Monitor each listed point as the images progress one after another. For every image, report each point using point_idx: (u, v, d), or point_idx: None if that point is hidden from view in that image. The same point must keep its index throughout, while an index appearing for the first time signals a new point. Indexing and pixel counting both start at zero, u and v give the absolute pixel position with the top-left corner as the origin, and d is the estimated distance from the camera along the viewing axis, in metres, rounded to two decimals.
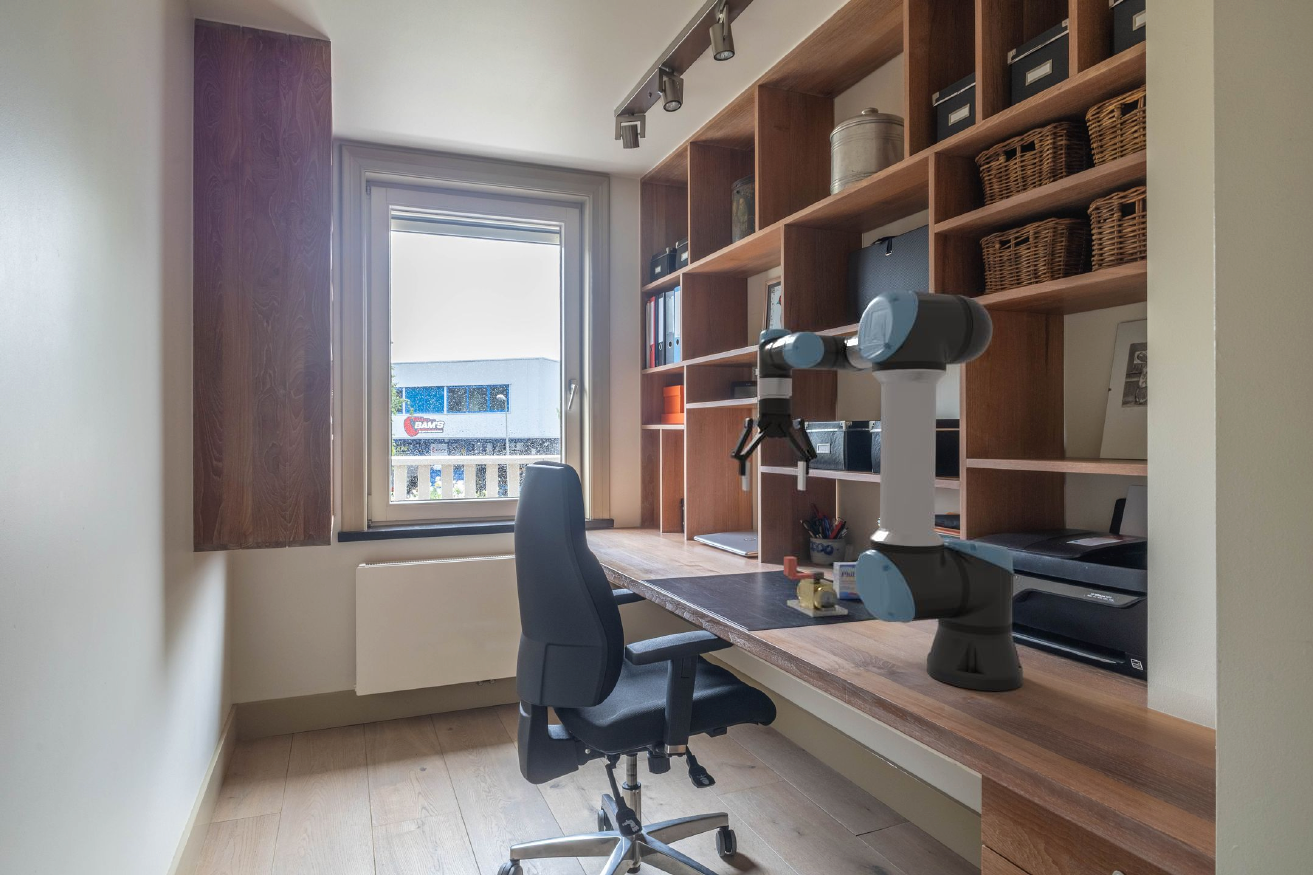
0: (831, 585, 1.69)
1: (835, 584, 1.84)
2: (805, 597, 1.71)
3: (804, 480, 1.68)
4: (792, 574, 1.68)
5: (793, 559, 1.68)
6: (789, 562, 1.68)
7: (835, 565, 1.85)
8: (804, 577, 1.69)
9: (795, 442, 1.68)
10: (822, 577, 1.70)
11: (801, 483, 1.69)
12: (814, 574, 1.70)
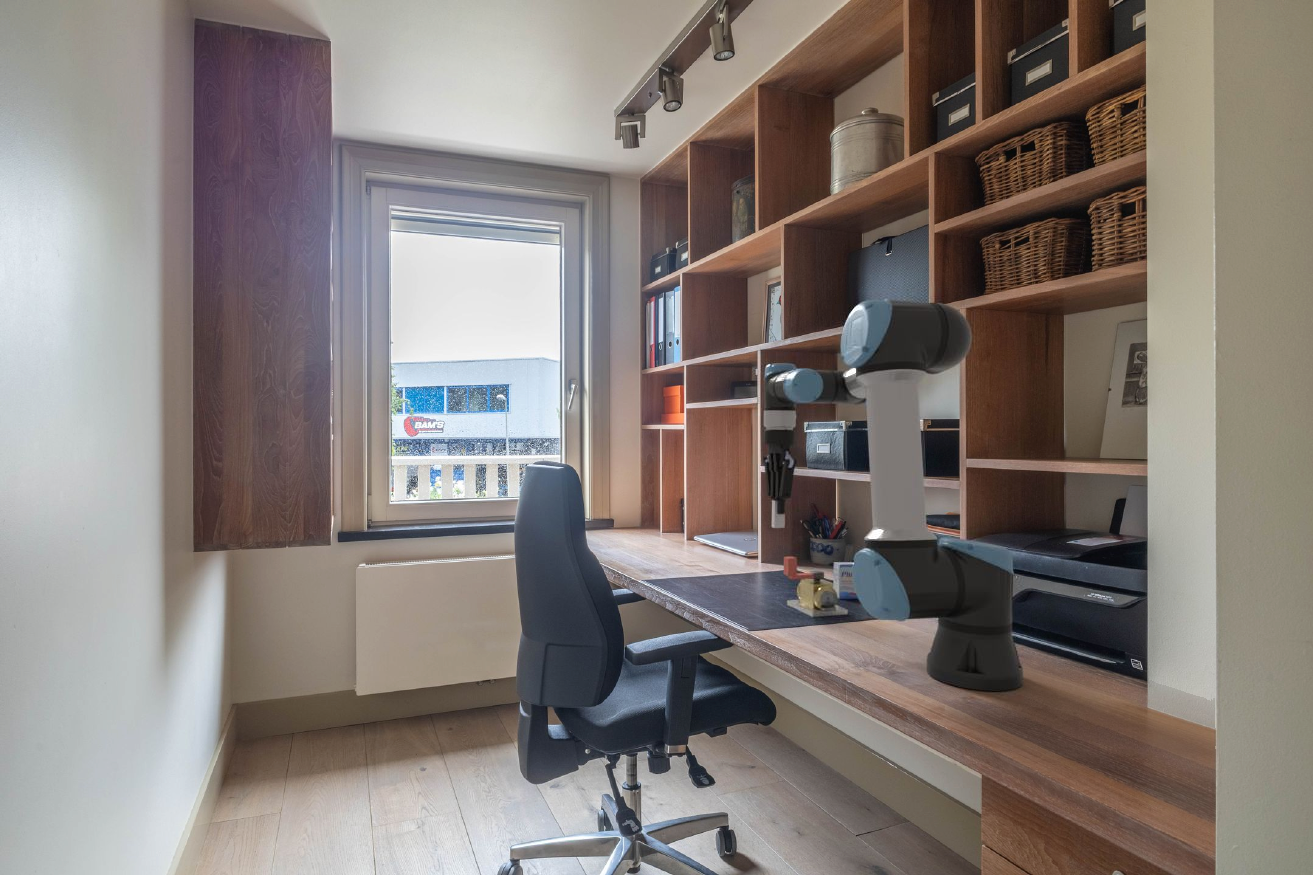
0: (831, 585, 1.69)
1: (835, 584, 1.84)
2: (805, 597, 1.71)
3: (774, 518, 1.74)
4: (792, 574, 1.68)
5: (793, 559, 1.68)
6: (789, 562, 1.68)
7: (835, 565, 1.85)
8: (804, 577, 1.69)
9: (777, 477, 1.73)
10: (822, 577, 1.70)
11: None
12: (814, 574, 1.70)
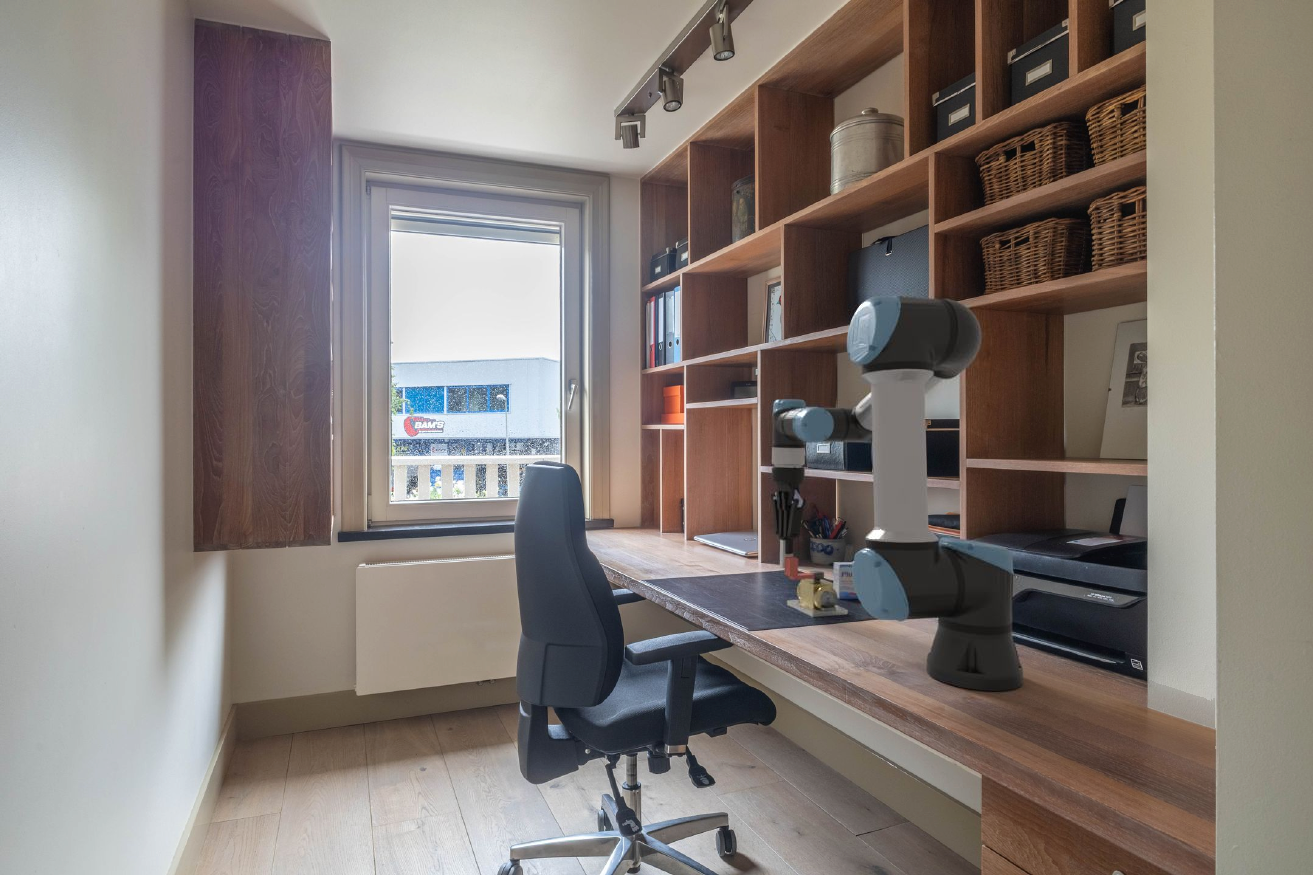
0: (831, 585, 1.69)
1: (835, 584, 1.84)
2: (805, 597, 1.71)
3: (781, 558, 1.69)
4: (793, 574, 1.68)
5: (794, 559, 1.68)
6: (790, 563, 1.67)
7: (835, 565, 1.85)
8: (805, 577, 1.69)
9: (785, 516, 1.68)
10: (822, 577, 1.70)
11: None
12: (814, 574, 1.70)
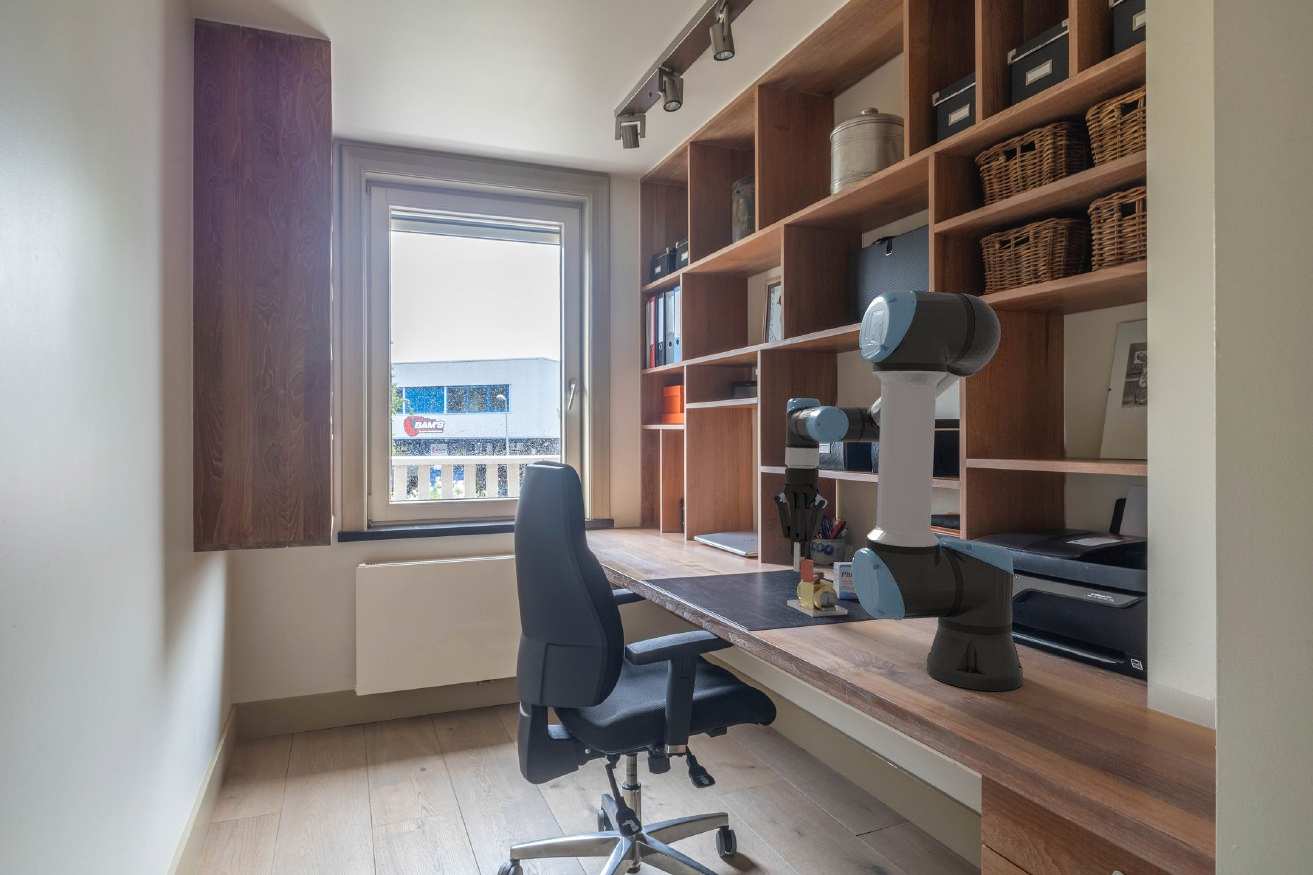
0: (831, 585, 1.69)
1: (835, 584, 1.84)
2: (805, 597, 1.71)
3: (797, 561, 1.65)
4: (811, 577, 1.65)
5: (812, 562, 1.65)
6: (810, 566, 1.64)
7: (835, 565, 1.85)
8: (815, 579, 1.68)
9: (803, 518, 1.64)
10: (823, 576, 1.71)
11: None
12: (819, 574, 1.70)
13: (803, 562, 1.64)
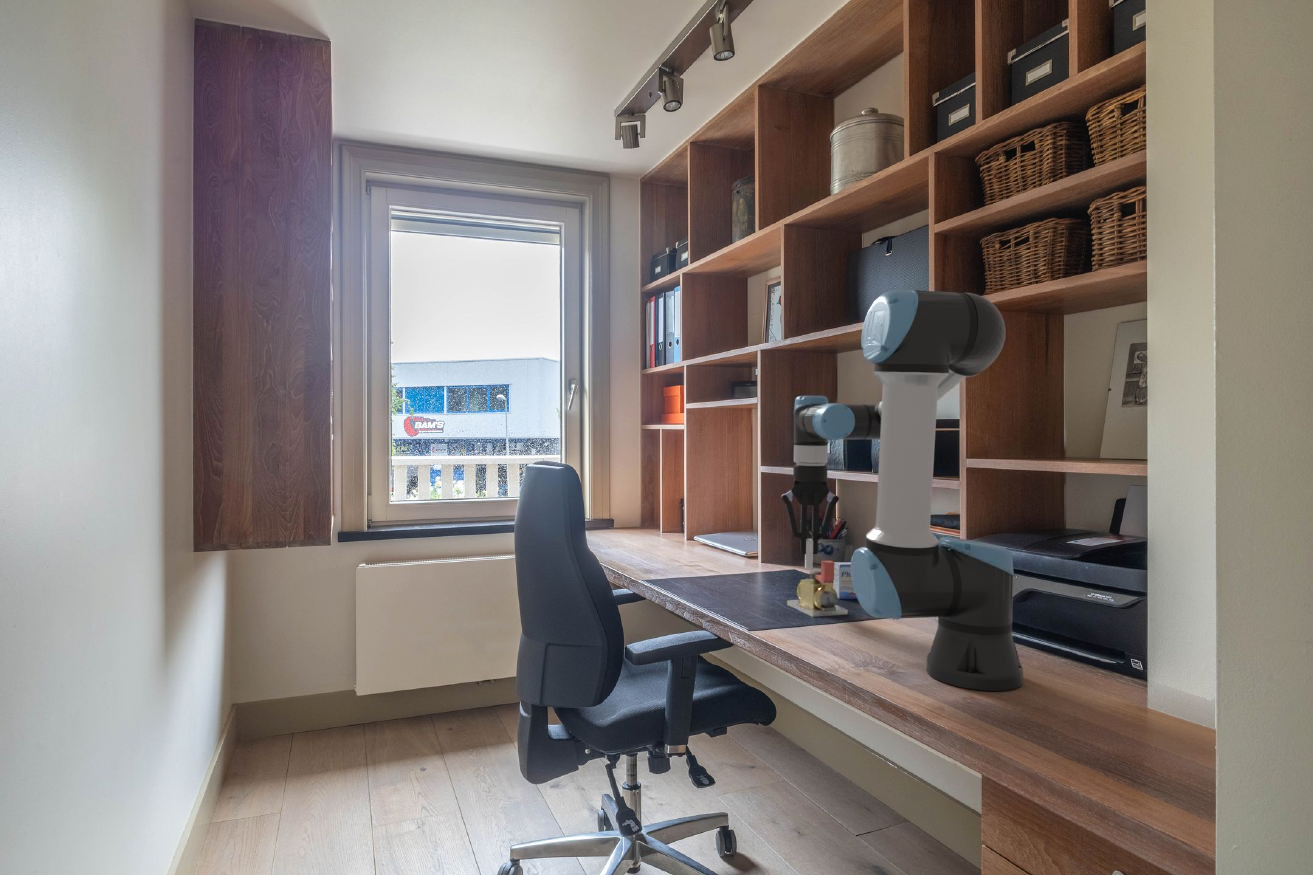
0: (831, 585, 1.69)
1: (835, 584, 1.84)
2: (805, 597, 1.71)
3: (811, 559, 1.64)
4: None
5: None
6: None
7: (835, 565, 1.85)
8: None
9: (816, 515, 1.64)
10: None
11: None
12: None
13: (827, 563, 1.63)
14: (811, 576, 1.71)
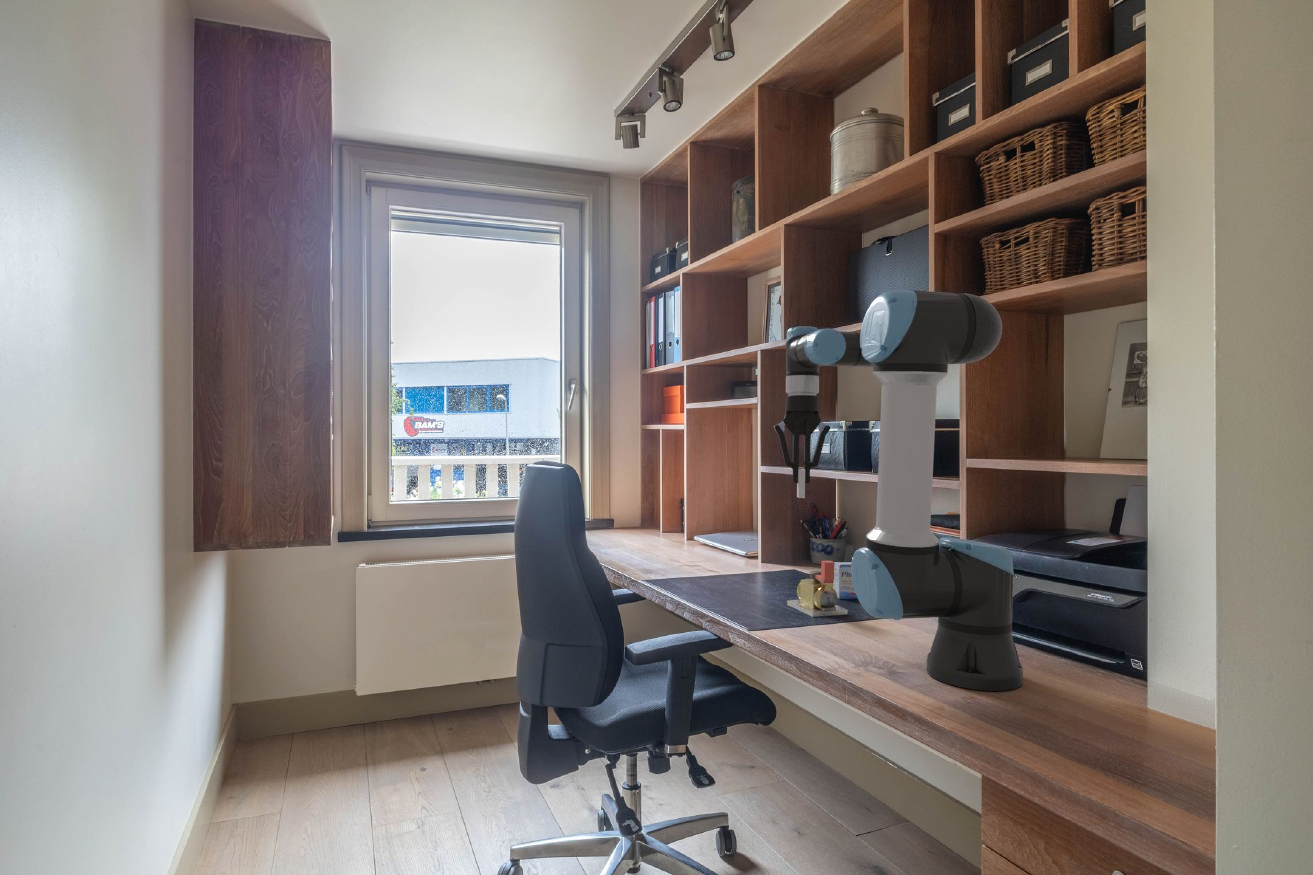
0: (831, 585, 1.69)
1: (835, 584, 1.84)
2: (805, 597, 1.71)
3: (803, 488, 1.67)
4: None
5: None
6: None
7: (835, 565, 1.85)
8: None
9: (808, 445, 1.67)
10: None
11: None
12: None
13: (827, 563, 1.63)
14: (811, 576, 1.71)
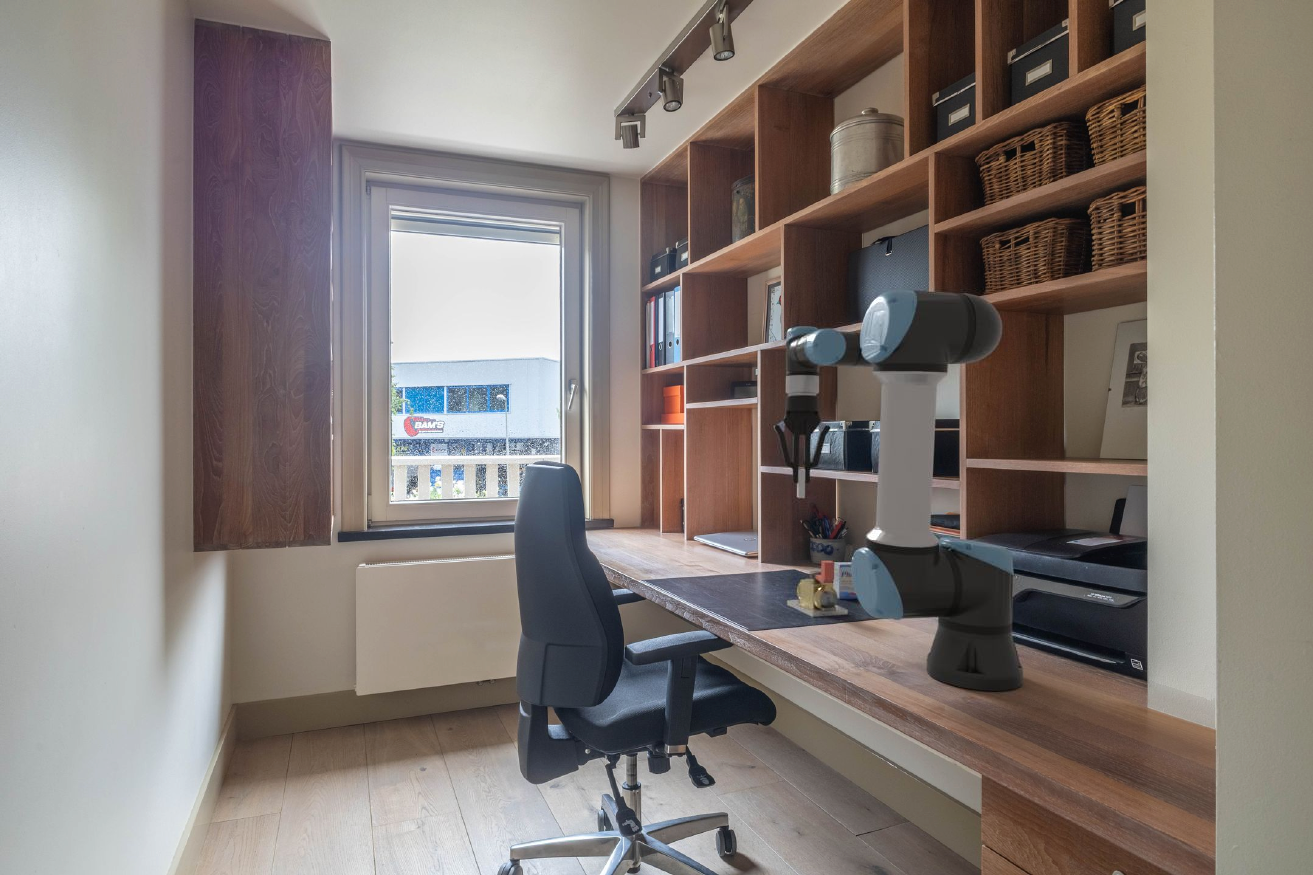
0: (831, 585, 1.69)
1: (835, 584, 1.84)
2: (805, 597, 1.71)
3: (803, 488, 1.67)
4: None
5: None
6: None
7: (835, 565, 1.85)
8: None
9: (808, 445, 1.67)
10: None
11: None
12: None
13: (827, 563, 1.63)
14: (811, 576, 1.71)
